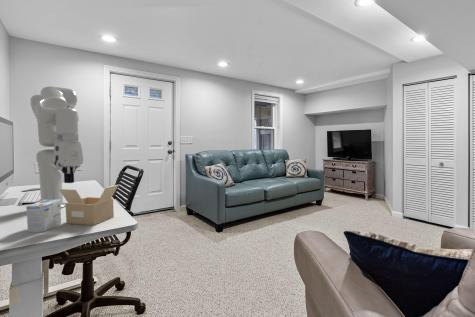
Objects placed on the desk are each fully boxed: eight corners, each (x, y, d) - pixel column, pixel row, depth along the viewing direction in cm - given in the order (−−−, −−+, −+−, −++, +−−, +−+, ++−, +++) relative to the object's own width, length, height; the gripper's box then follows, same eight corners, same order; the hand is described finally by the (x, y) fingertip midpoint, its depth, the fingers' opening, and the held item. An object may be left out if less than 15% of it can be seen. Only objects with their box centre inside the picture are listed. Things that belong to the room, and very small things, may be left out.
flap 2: (105, 187, 103) (106, 188, 103) (118, 184, 111) (118, 184, 111) (97, 202, 104) (97, 203, 104) (110, 198, 112) (110, 198, 112)
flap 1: (68, 202, 105) (68, 203, 104) (59, 189, 100) (58, 189, 100) (84, 203, 103) (84, 204, 103) (75, 189, 98) (75, 190, 98)
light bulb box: (45, 223, 106) (44, 199, 105) (62, 223, 106) (61, 199, 106) (26, 232, 95) (25, 205, 95) (45, 232, 96) (43, 205, 95)
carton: (65, 223, 106) (64, 203, 105) (88, 215, 118) (87, 196, 118) (94, 225, 103) (93, 204, 102) (114, 216, 115) (113, 198, 115)
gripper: (58, 138, 91) (60, 186, 93) (89, 138, 106) (91, 180, 107) (41, 138, 93) (44, 185, 94) (75, 138, 107) (76, 179, 109)
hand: (69, 182), depth 101 cm, fingers closed
